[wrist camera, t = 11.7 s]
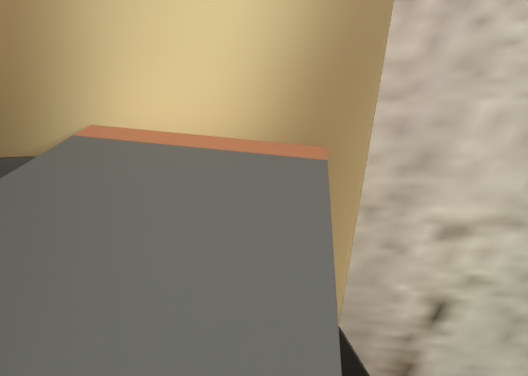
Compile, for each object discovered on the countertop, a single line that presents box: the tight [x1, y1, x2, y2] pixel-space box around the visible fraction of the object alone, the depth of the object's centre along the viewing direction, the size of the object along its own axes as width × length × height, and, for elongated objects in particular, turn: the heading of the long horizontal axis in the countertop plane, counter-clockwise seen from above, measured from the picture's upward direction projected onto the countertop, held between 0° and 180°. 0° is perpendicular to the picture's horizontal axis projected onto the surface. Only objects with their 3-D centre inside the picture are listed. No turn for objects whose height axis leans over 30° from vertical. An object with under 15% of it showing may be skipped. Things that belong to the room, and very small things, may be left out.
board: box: [0, 0, 394, 325], centre depth 10 cm, size 14×13×1 cm
